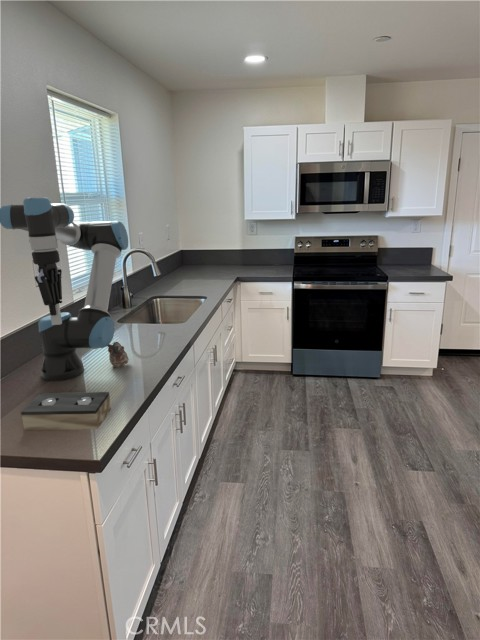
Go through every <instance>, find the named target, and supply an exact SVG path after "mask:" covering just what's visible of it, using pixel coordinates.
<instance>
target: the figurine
mask: <svg viewBox="0 0 480 640" xmlns="http://www.w3.org/2000/svg"><path fill="white" fill-rule="evenodd" d="M107 347H108V348H107V351H108V353H109V357H108V358H109V363H110V364H111V366H113V367H115V368H122V367H124V366H125V365H127V364H128V363H129V357H128V356H129V355H128V354H127V352H126V351H125V347H124V346H123V345H122V344H121V343H119V341H114V342H113V343H112V344H111V343H110V344H109V345H108V346H107Z"/></svg>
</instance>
